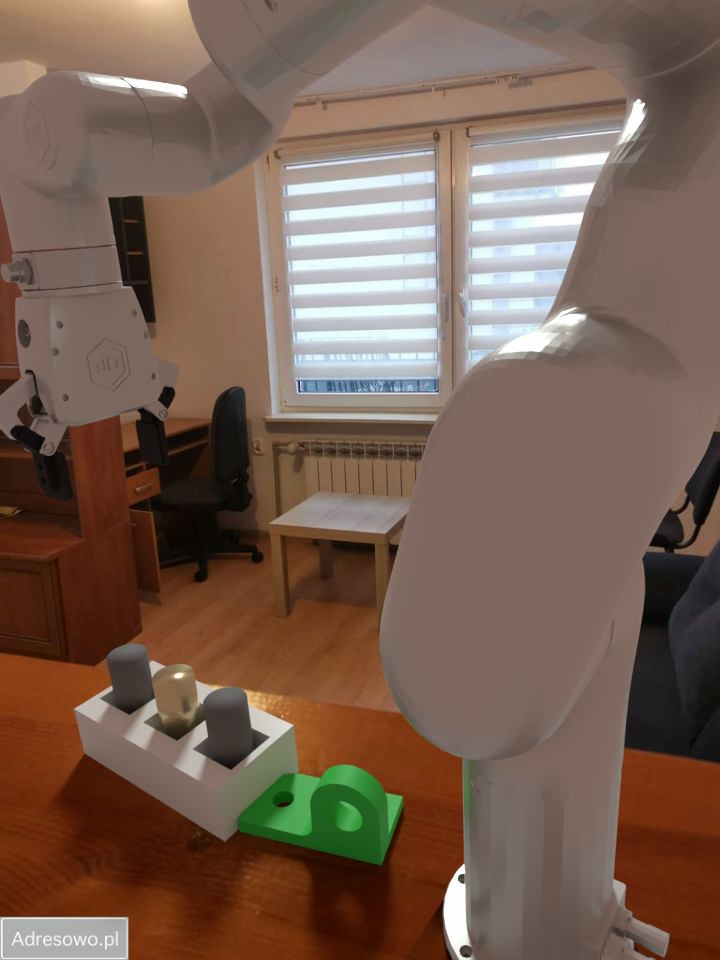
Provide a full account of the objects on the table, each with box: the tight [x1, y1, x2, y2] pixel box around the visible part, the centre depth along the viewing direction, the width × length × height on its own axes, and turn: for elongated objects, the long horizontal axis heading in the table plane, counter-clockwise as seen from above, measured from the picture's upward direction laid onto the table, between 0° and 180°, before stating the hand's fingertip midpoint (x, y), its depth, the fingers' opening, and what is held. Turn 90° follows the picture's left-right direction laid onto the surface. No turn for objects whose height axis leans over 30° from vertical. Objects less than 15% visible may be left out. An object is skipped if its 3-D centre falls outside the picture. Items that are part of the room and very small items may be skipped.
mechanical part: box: [238, 764, 404, 866], centre depth 57 cm, size 12×6×8 cm, turn 71°
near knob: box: [203, 686, 254, 770], centre depth 60 cm, size 4×4×6 cm
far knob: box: [106, 643, 155, 715], centre depth 67 cm, size 4×4×6 cm
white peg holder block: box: [73, 660, 300, 842], centre depth 65 cm, size 19×9×6 cm, turn 54°
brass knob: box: [152, 663, 202, 741], centre depth 63 cm, size 4×4×6 cm
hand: (110, 479), depth 62 cm, fingers open, 9 cm apart
